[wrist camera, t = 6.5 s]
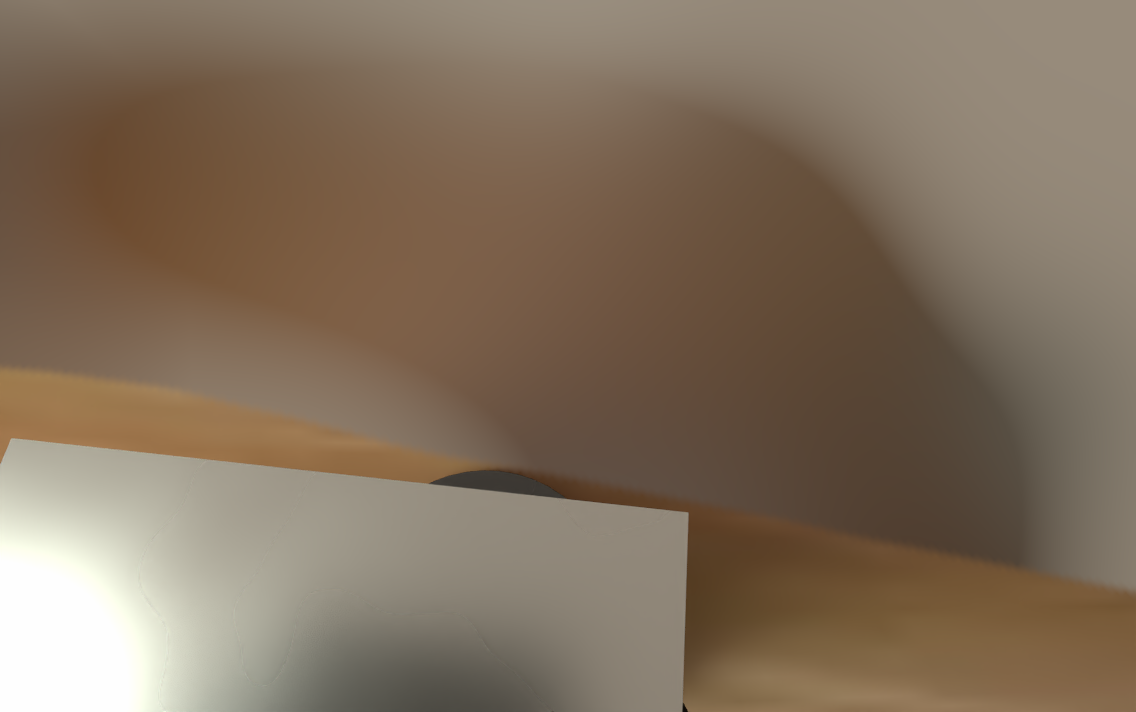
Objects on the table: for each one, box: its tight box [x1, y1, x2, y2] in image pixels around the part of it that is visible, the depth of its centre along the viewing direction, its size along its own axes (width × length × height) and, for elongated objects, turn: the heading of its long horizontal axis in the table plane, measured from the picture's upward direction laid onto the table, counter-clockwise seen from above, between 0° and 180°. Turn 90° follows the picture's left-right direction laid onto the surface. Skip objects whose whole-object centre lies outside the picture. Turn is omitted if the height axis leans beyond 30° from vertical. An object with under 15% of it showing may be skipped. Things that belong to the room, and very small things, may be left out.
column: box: [0, 438, 688, 712], centre depth 9 cm, size 5×5×12 cm
